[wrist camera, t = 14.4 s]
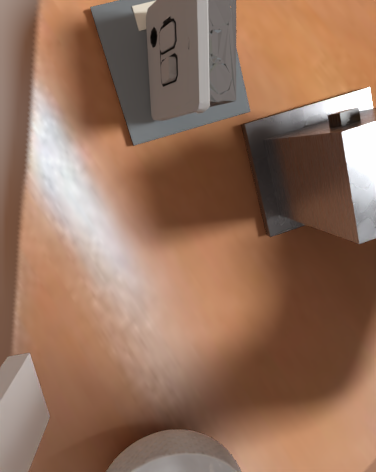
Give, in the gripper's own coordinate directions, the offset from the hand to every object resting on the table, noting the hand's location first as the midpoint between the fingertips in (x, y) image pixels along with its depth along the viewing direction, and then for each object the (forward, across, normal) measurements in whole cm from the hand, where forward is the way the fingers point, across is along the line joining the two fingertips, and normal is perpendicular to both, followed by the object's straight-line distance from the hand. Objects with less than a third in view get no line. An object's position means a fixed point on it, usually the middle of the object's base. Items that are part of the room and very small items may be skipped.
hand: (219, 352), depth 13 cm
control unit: (+27, +15, +2) cm, 31 cm away
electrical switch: (+25, +2, +14) cm, 29 cm away
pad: (+26, +2, +14) cm, 29 cm away
